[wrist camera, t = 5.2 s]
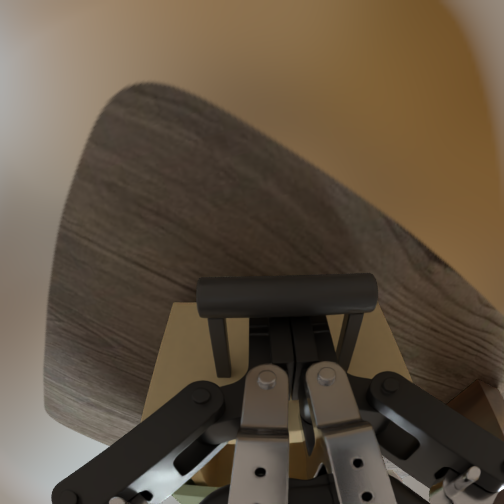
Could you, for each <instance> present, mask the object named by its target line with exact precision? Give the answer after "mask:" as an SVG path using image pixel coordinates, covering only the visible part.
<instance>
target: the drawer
mask: <svg viewBox="0 0 504 504" xmlns="http://www.w3.org/2000/svg"><path fill="white" fill-rule="evenodd" d="M377 300H378V288H377V282H376V279H375V277H374V275H373V274H371V273H354V274H326V275H293V276H249V277H201V278H199V280H198V283H197V291H196V302H197V303H179V302H174V303H173V306H172V309H171V312H170V316H169V319H168V322H167V326H166V329H165V333H164V336H163V339H162V343H161V346H160V350H159V353H158V357H157V361H156V364H155V368H154V372H153V375H152V379H151V383H150V387H149V390H148V394H147V398H146V402H145V406H144V410H143V414H142V418H141V422H142V421H144V420H145V419H146V418H148V417H149V416H150V415H151V414H153V413H154V412H155V411H156V410H158V409H159V408H160V407H161V406H163V405H164V404H165V403H166V402H168V401H169V400H170V399H171V398H172V397H174V396H175V395H176V394H177V393H179V392H180V391H181V390H182V389H183V388H185V387H186V386H187V385H189V384H190V383H192V382H195V381H201V380H204V381H210V382H213V383H215V384H217V385H218V386H219V387H221V386H225V385H228V384H232V383H234V382H236V381H238V380H240V379H241V378H242V377H243V376H244V375H245V374H246V372H247V370H248V363H249V318H271V317H301V316H322V315H326V317H327V321H328V325H329V328H330V333H331V336H332V340H333V344H334V348H335V352H336V356H337V360H338V363H339V365H340V366H341V367H342V368H343V369H344V370H345V371H346V372H347V373H349V374H351V375H353V376H357V377H363V378H369V379H372V378H373V377H374V376H375V375H376V374H378V373H380V372H384V371H392V372H396V373H398V374H400V375H402V376H403V377H405V378H406V379H408V380H409V381H411V382H412V380H411V377H410V375H409V372H408V370H407V367H406V365H405V362H404V360H403V358H402V355H401V353H400V350H399V348H398V346H397V343H396V341H395V339H394V337H393V334H392V332H391V330H390V328H389V325H388V323H387V321H386V319H385V317H384V314H383V312H382V310H381V308H380V306H379V304H378V302H377ZM412 383H413V382H412ZM298 415H299V400H292V398H291V396H290V401H289V409H288V431H289V478H295V479H302V480H307V473H306V455H305V450H304V445H303V440H302V434H301V429H300V424H299V419H298ZM141 422H140V423H141ZM235 443H236V439H235V440H231V441H229V442H228V443H227V444H226V445H225V446H224V447H223V448H222V449H221V450H220V451H219V452H218V453H217V454H216V455H215V456H214V457H213V458H212V459H211V460H210V461H209V462H208V463H207V464H205V465H204V466H203V467H202V468H201V469H200V470H199V471H198V472H197V473H196V474H195V475H193V476H192V477H191V478H192V480H193V481H194V483H195V484H196V486H209V487H223V486H225V485H228V484H230V483H231V475H232V467H233V459H234V451H235Z"/></svg>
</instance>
